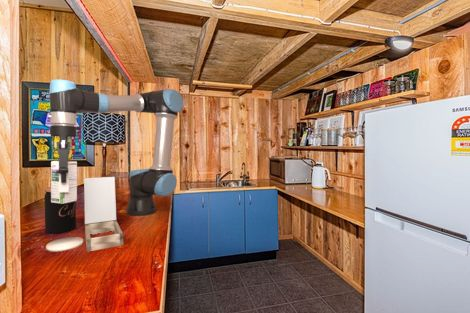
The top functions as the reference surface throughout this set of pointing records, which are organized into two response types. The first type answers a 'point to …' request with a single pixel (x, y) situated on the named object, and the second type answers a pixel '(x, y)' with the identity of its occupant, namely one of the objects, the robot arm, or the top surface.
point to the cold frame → (104, 240)
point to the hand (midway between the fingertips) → (64, 189)
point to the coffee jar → (59, 215)
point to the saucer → (64, 244)
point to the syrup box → (72, 194)
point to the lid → (99, 199)
